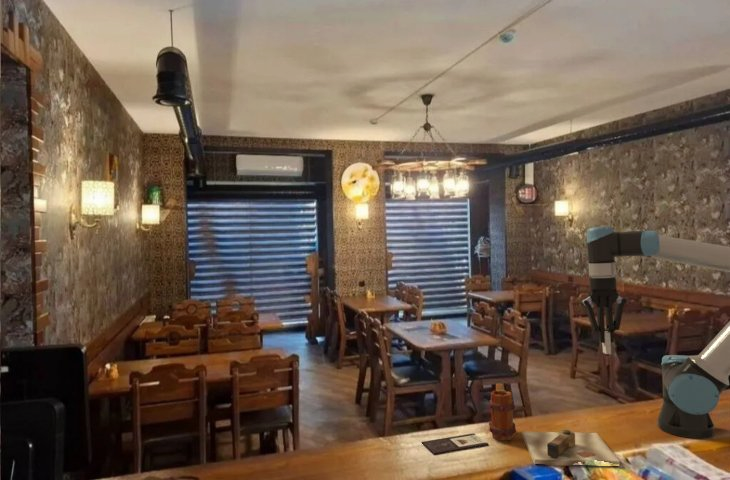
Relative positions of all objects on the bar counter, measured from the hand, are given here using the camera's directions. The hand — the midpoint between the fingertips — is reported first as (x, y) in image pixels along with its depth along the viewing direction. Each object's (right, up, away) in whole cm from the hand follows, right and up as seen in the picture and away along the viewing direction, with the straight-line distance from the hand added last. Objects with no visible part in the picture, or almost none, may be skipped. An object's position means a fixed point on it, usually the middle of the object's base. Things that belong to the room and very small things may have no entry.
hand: (607, 353), depth 157 cm
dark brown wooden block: (-19, -25, -12) cm, 33 cm away
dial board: (-16, -26, -9) cm, 32 cm away
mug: (-31, -27, +4) cm, 41 cm away
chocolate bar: (-47, -28, -2) cm, 55 cm away
